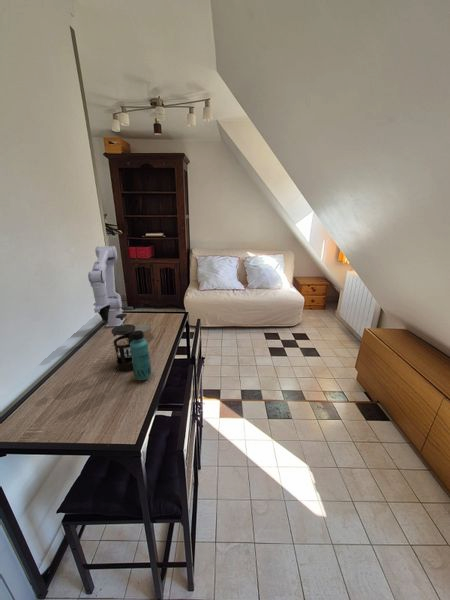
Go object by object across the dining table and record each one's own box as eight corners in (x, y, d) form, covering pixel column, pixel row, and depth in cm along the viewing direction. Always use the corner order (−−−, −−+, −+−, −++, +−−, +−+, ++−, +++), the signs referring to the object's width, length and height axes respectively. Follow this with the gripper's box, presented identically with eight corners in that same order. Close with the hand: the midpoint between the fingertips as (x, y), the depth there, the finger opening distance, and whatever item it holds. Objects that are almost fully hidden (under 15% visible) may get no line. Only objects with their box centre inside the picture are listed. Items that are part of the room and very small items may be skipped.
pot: (135, 334, 131) (133, 323, 129) (153, 332, 132) (151, 322, 130) (130, 345, 120) (129, 334, 118) (150, 343, 121) (148, 332, 119)
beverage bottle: (131, 380, 95) (123, 334, 88) (143, 371, 101) (137, 326, 94) (143, 385, 92) (136, 338, 86) (156, 375, 98) (150, 330, 91)
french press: (135, 373, 100) (127, 320, 92) (112, 372, 100) (102, 320, 92) (145, 356, 111) (138, 308, 103) (124, 356, 111) (116, 308, 103)
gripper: (98, 290, 127) (103, 314, 132) (85, 300, 114) (91, 327, 118) (112, 290, 128) (116, 314, 132) (101, 299, 114) (106, 326, 119)
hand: (105, 320), depth 125 cm, fingers closed
